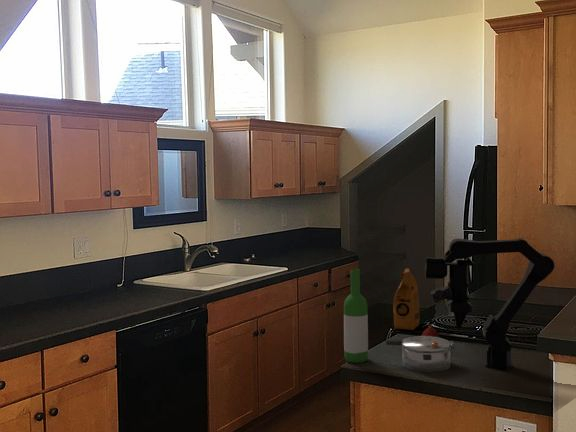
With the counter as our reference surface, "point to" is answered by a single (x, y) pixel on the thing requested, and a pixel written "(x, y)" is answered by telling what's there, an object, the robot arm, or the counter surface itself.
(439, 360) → the cooker pot
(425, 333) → the onion
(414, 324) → the coffee package
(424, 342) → the lid
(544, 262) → the robot arm
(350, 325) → the wine bottle
